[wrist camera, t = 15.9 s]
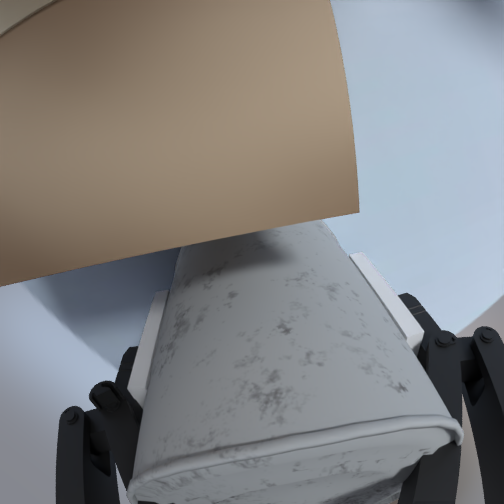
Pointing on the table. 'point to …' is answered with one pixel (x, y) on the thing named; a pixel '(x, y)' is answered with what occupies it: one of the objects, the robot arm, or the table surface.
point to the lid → (165, 126)
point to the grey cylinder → (281, 381)
